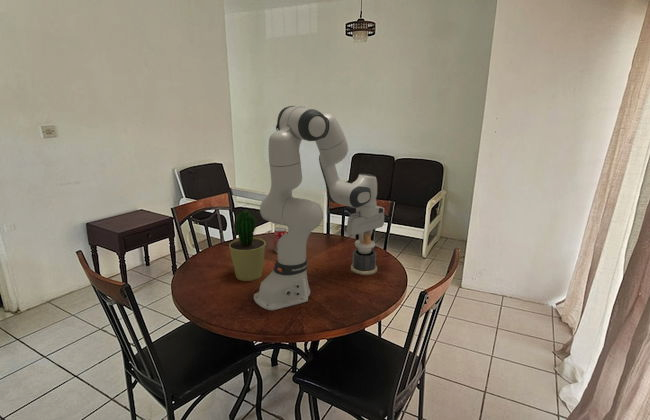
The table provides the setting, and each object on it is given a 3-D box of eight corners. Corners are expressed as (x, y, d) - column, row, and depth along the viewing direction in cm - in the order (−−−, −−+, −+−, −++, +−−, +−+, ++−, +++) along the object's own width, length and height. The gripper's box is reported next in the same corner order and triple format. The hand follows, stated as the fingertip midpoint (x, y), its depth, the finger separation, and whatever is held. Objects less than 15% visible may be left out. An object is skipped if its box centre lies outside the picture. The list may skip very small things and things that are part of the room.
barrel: (363, 277, 160) (364, 259, 158) (345, 268, 169) (345, 251, 167) (382, 270, 167) (383, 253, 165) (363, 262, 176) (364, 245, 174)
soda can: (289, 249, 192) (288, 227, 188) (286, 254, 185) (285, 231, 182) (275, 248, 192) (275, 226, 189) (272, 253, 185) (271, 231, 182)
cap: (364, 257, 160) (365, 239, 157) (350, 250, 166) (350, 233, 164) (378, 252, 165) (379, 234, 163) (364, 246, 172) (365, 229, 170)
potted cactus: (259, 284, 153) (256, 215, 145) (224, 281, 156) (219, 213, 148) (271, 269, 167) (269, 206, 159) (240, 266, 170) (236, 204, 162)
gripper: (353, 216, 152) (353, 247, 156) (387, 208, 164) (385, 237, 168) (343, 212, 157) (343, 243, 160) (376, 205, 169) (375, 233, 173)
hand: (365, 240), depth 164 cm, fingers closed on cap
